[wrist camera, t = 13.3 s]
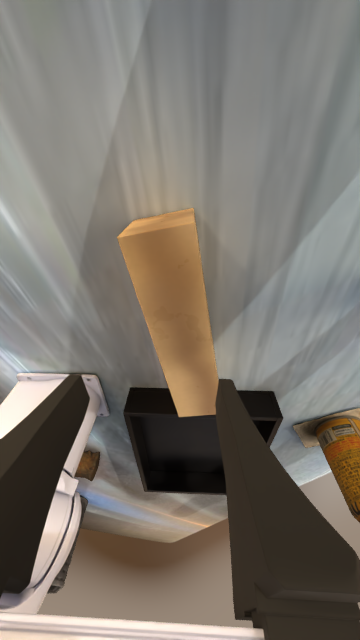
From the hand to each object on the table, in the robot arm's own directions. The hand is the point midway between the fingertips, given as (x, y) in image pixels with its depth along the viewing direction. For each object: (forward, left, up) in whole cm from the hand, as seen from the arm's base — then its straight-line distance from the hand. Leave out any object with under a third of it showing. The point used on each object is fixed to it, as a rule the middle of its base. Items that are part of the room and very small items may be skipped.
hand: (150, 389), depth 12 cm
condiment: (+22, -20, -10) cm, 31 cm away
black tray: (+4, -24, -10) cm, 26 cm away
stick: (+2, -2, -10) cm, 10 cm away
